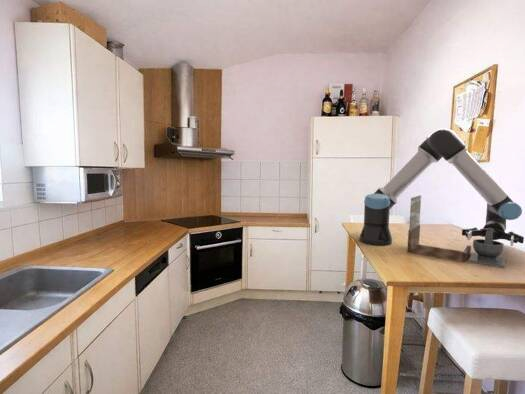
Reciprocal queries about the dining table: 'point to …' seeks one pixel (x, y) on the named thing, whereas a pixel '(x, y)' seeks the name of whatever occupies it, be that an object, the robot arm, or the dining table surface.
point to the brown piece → (424, 249)
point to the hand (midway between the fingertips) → (489, 239)
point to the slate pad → (498, 263)
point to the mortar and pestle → (488, 247)
